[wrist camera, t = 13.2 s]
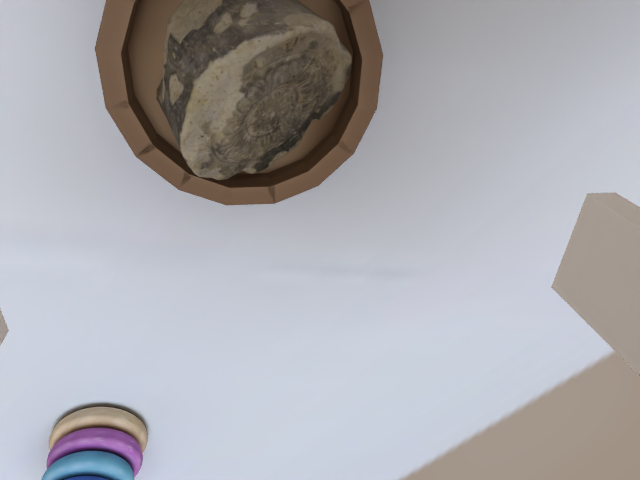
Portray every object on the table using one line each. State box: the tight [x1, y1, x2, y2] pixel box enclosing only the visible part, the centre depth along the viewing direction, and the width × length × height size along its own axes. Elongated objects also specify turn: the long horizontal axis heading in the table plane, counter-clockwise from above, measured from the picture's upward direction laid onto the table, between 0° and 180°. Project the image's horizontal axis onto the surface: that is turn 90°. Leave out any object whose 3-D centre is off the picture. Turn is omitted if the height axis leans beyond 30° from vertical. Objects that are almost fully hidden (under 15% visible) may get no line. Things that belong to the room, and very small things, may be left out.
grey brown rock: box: [156, 0, 352, 180], centre depth 25 cm, size 11×9×10 cm
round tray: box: [95, 0, 383, 205], centre depth 27 cm, size 15×15×3 cm
